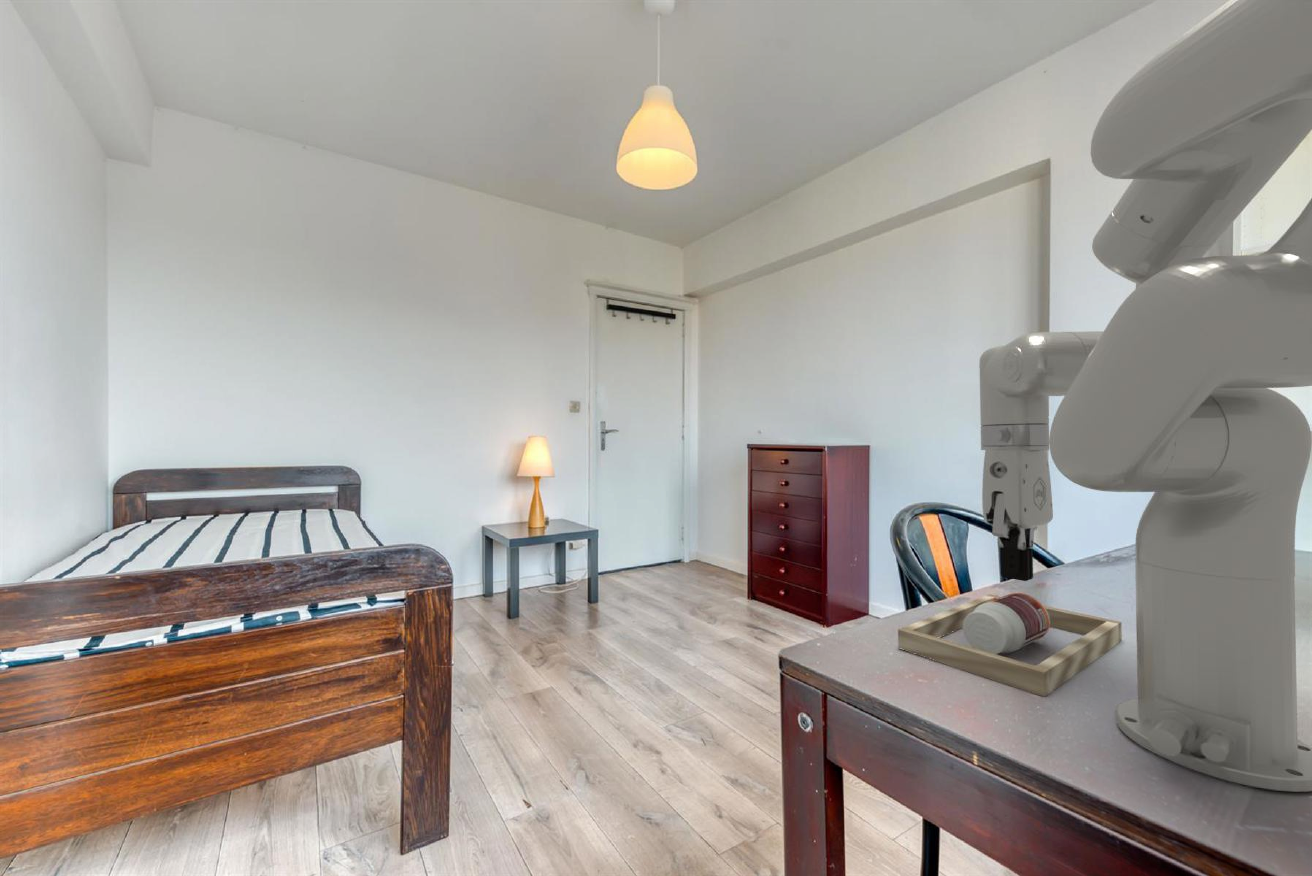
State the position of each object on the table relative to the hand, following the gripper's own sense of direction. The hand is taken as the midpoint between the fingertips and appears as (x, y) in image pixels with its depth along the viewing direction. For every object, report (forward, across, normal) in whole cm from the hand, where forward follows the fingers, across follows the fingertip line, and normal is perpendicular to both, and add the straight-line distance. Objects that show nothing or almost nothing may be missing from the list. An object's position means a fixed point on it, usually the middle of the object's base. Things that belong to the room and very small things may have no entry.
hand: (1016, 577), depth 70 cm
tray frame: (+8, -2, 0) cm, 9 cm away
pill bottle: (+6, +3, 0) cm, 6 cm away
